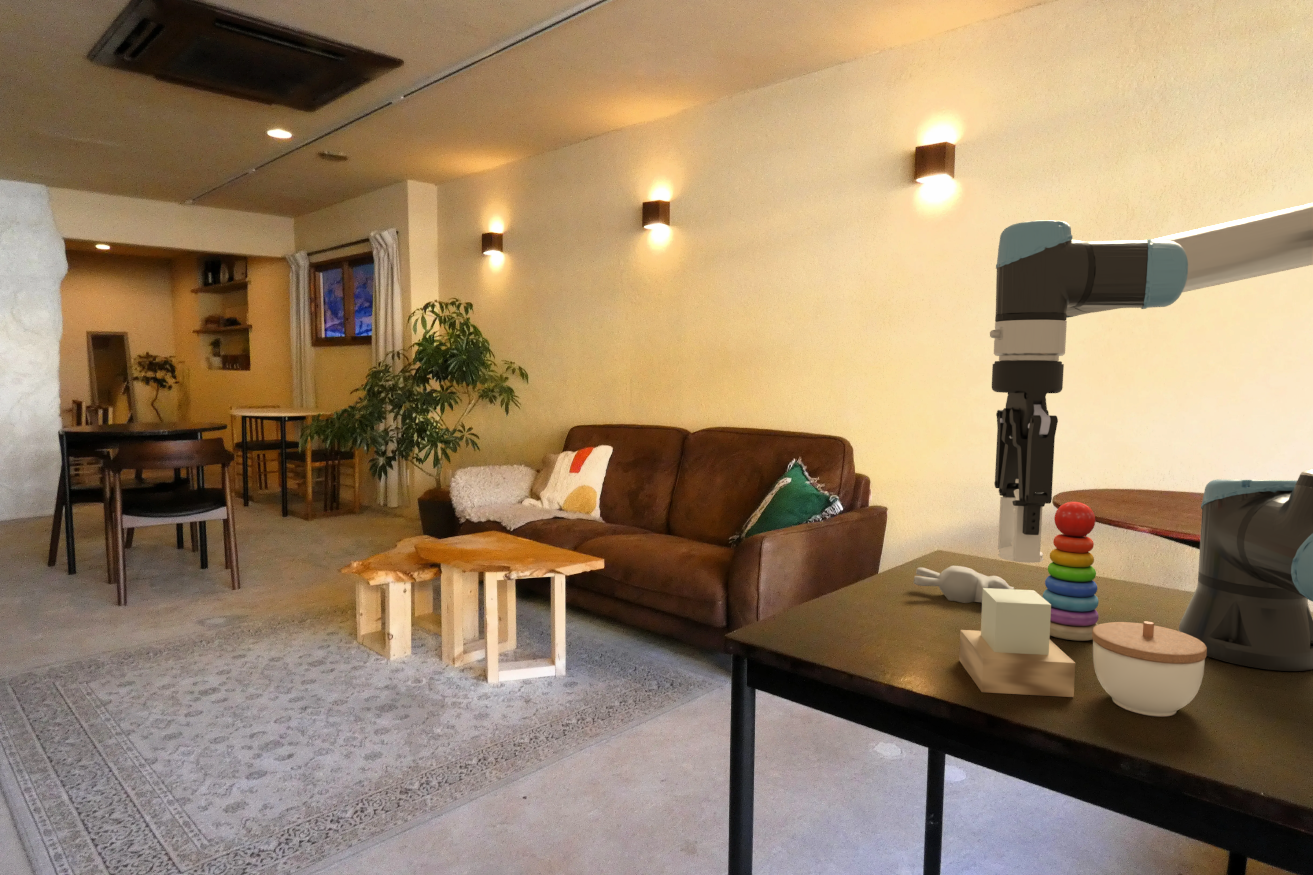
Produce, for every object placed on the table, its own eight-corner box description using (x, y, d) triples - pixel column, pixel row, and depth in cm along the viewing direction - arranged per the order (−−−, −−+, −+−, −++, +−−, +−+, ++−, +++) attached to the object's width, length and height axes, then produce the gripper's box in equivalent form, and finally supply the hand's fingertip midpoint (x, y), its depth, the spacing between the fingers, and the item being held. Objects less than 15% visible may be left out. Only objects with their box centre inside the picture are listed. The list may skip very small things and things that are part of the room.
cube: (1031, 637, 97) (1033, 590, 96) (1048, 654, 91) (1051, 604, 91) (980, 634, 98) (982, 587, 97) (994, 652, 92) (996, 602, 91)
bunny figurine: (1017, 588, 120) (915, 567, 125) (1012, 620, 120) (910, 597, 126) (1014, 573, 128) (919, 554, 134) (1009, 603, 129) (914, 583, 134)
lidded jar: (1098, 678, 95) (1103, 602, 94) (1206, 702, 88) (1212, 620, 87) (1079, 707, 86) (1084, 624, 86) (1196, 736, 80) (1203, 646, 79)
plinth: (1041, 664, 99) (1043, 633, 98) (1073, 696, 89) (1075, 662, 89) (959, 660, 100) (960, 629, 100) (981, 691, 90) (983, 658, 90)
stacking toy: (1108, 645, 106) (1116, 508, 104) (1045, 640, 108) (1052, 505, 106) (1089, 626, 114) (1096, 498, 112) (1030, 622, 115) (1036, 496, 114)
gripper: (973, 359, 101) (965, 538, 103) (1019, 357, 83) (1009, 573, 85) (1034, 360, 100) (1025, 540, 102) (1095, 358, 82) (1082, 576, 84)
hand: (1018, 555), depth 93 cm, fingers closed on chess piece, 5 cm apart
